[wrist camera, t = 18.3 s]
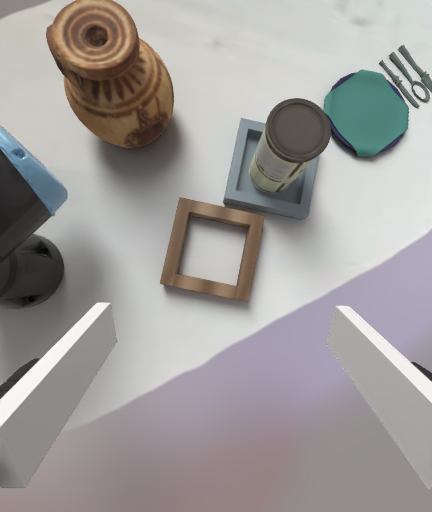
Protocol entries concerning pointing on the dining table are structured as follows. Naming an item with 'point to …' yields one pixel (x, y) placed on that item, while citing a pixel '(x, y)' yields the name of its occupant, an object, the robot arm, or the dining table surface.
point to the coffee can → (288, 144)
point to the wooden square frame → (221, 215)
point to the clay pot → (111, 73)
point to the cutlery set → (372, 107)
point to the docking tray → (247, 195)
